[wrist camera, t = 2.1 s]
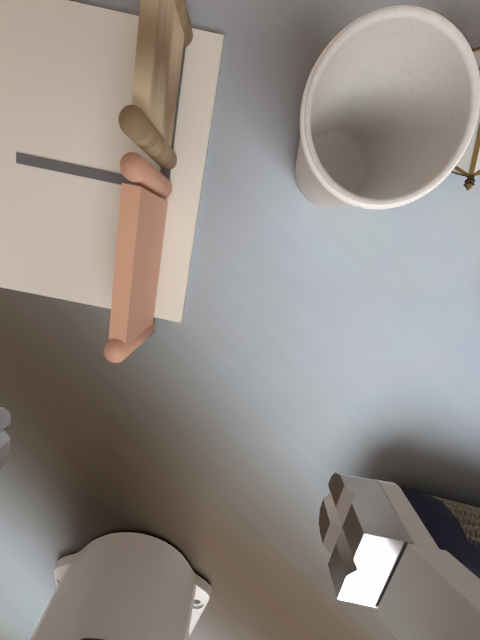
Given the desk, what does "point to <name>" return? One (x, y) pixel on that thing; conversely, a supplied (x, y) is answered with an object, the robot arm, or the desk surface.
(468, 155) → the game die
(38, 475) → the desk surface
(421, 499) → the portable speaker
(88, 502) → the desk surface
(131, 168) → the fence gate
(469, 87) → the dixie cup
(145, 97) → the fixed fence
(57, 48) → the card
